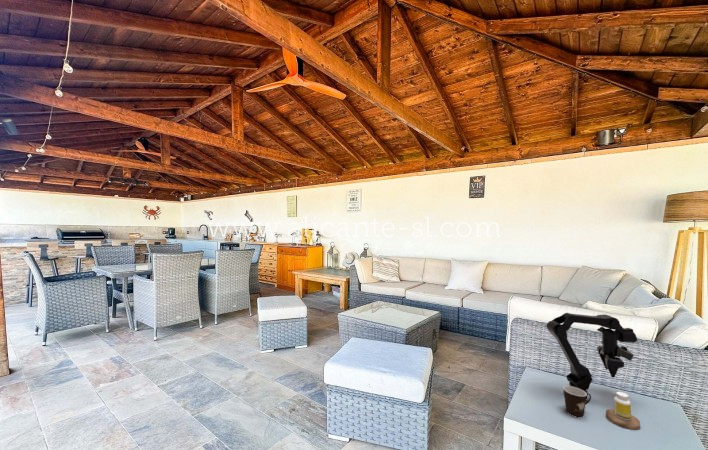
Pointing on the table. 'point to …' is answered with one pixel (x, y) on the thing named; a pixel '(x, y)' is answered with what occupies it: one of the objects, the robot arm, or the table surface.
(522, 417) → the table surface
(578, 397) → the coffee mug
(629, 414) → the supplement bottle
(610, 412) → the walnut base
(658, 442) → the table surface
